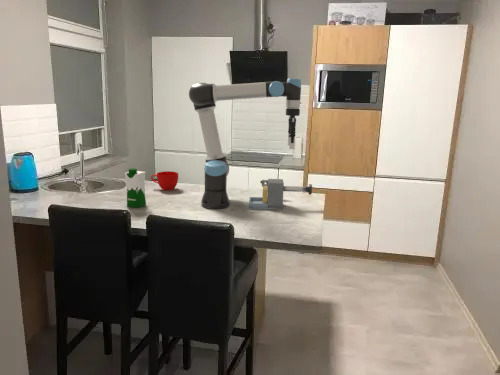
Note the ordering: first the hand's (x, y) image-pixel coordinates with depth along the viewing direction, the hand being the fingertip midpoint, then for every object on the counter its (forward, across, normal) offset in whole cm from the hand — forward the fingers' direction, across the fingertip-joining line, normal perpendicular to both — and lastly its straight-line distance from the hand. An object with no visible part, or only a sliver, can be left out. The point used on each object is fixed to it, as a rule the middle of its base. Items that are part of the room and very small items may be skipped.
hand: (290, 147), depth 221 cm
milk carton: (+31, -20, +81) cm, 89 cm away
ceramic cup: (+31, +17, +75) cm, 83 cm away
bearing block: (+31, -12, +8) cm, 34 cm away
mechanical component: (+31, +6, +11) cm, 33 cm away
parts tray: (+31, -12, +17) cm, 37 cm away
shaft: (+23, -12, 0) cm, 26 cm away
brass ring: (+25, -12, +14) cm, 31 cm away
